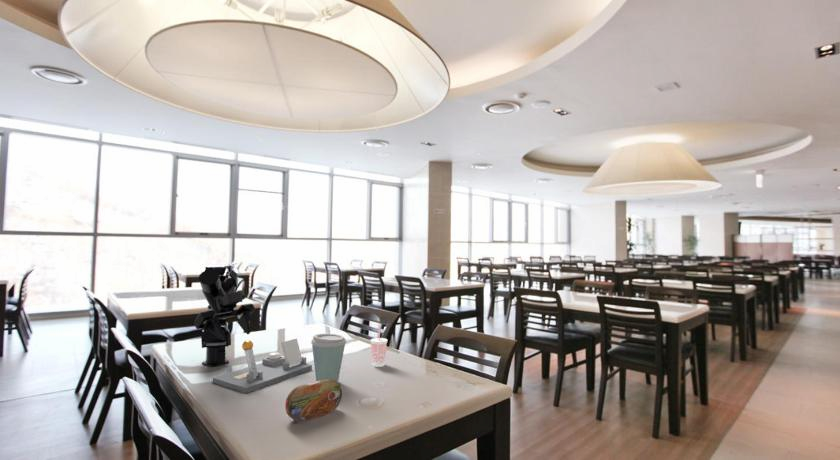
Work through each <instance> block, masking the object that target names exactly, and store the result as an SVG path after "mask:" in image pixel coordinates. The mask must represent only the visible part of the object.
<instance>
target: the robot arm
mask: <svg viewBox="0 0 840 460" xmlns="http://www.w3.org/2000/svg"><path fill="white" fill-rule="evenodd" d="M198 281H199V283H200V287H201V289H202V290H201V291H202V294H203V296H204V298H205V299H206V301H207V303H208V306H207V309H208V310H204V311H200V313H199V314H198V315H197V317H196V318H195V320H194V322H193V324H194V327H195V328H196V330H200V329H201V330H202V331H201V336H200V337H201V338H200V339H201V341H200V342H201V348H202V349H203V348H206V353H205V356H206V357H205V359H206V360H205V361H202V362H201V364H202V365H205V366H209V367H217V366H220V365H223V364H227V363H229V362H230V360H228V359H226V352H227V351H226V347H229V346H232V334H231V332H230V329H229V327H228V322H227V319H228V318H233V317H235V318H236V320H237V321H236V323H237V324H238V325H239V327H240V328H241V329H242V331H244V333H245V334H247V335H249V334H250V333H251V328H250V316H251V315H252V314H253V312H255V310H256V307H255V306H254V304H253V303H244V304H241V305H240V307H239V308H238V309H235V308H236V307H237V306H238V305H237V304H238V303H242V302H243V300H245V299H246V293H245V292H244V291H243V290H242V289H239V290H237V291H236V289H237V288H238V285H239V278H238V273H237V272H235V270H234V269H233V266H232V265H231V264H217V265H206V266H205V268H203V269H202V270H201V272H200V274H199V276H198Z"/></svg>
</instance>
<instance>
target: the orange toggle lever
mask: <svg viewBox="0 0 840 460" xmlns="http://www.w3.org/2000/svg"><path fill="white" fill-rule="evenodd" d="M241 347H242V349H243V350H244V354H245V358H246V363H247V367H248V368H249V373H250V374H254V377H256V376H258V372H257V367H256V358H255V354H254V350H253V349H254V342H253V341H252V340H245V341H244V342H243V343H242V345H241Z"/></svg>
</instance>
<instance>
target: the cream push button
mask: <svg viewBox="0 0 840 460" xmlns="http://www.w3.org/2000/svg"><path fill="white" fill-rule="evenodd" d="M280 356H281V353H280V352H270V353H268V357H269V360H272V361H274V360H278V359H280Z"/></svg>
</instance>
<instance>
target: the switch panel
mask: <svg viewBox="0 0 840 460" xmlns="http://www.w3.org/2000/svg"><path fill="white" fill-rule="evenodd" d="M301 357H302V361H301V362H298V363H295V364H292V365H289V363H287V362H285V358H284V356H281V355H280V359H278V360H274V361H272V360H269V356H268V357H264V358H262V359H261V361H262V362H261V363H257V364H256V367H257V372H258V376H256V377H254V374H250V373H249V368H248V366H246V367H244V368H239V369H237V370H234V371H233V370H232V371H230V372H226V373H224V374H220V375H217V376H213V377H212V384H216V385H218V386H222V387H225V388H228V389H231V390H235V391H237V392H240V393H243V394H247V393H251V392H252V391H256V390H259V389H262V388H265V387H267V386H269V385H272V384H275V383H278V382H280V381H281V382H282V381H283V380H287V379H289V378H291V377H294V376H297V375H301V374H303V373H306V372H308V371H311V370H313V365H312V364H310V363H307V357H306V356H301Z"/></svg>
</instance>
